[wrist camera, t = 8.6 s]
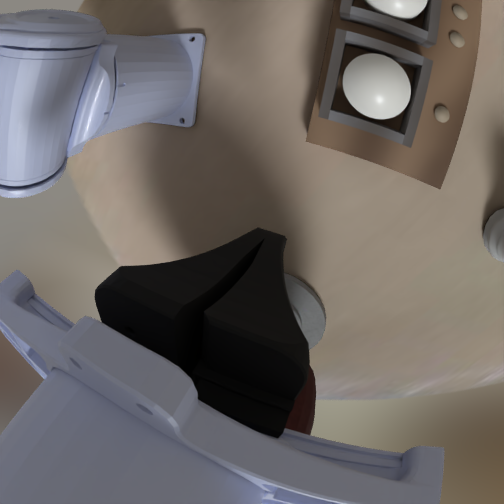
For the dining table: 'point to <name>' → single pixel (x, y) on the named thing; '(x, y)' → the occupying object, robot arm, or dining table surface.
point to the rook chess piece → (495, 235)
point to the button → (376, 86)
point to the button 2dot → (397, 8)
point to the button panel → (420, 77)
